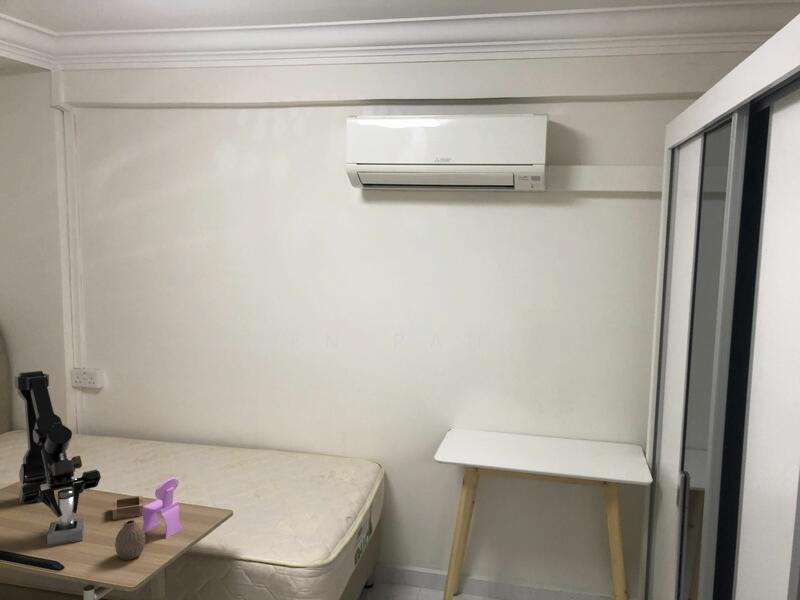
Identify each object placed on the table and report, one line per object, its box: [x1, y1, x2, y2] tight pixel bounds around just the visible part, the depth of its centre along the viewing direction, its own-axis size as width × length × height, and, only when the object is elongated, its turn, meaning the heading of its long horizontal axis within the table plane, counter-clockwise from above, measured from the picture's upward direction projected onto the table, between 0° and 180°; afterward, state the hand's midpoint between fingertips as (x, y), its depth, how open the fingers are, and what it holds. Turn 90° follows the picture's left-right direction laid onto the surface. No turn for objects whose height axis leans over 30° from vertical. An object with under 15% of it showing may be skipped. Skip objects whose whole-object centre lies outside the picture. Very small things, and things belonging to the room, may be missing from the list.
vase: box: [114, 519, 146, 561], centre depth 149 cm, size 7×7×9 cm
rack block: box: [112, 495, 144, 521], centre depth 175 cm, size 8×8×3 cm
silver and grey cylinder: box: [57, 488, 75, 531], centre depth 159 cm, size 4×4×12 cm
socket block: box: [46, 517, 85, 547], centre depth 159 cm, size 8×8×3 cm
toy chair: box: [142, 477, 184, 539], centre depth 164 cm, size 8×9×15 cm
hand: (67, 514), depth 158 cm, fingers closed on silver and grey cylinder, 4 cm apart
